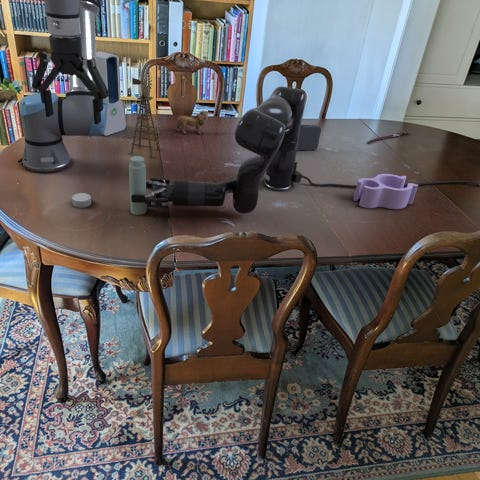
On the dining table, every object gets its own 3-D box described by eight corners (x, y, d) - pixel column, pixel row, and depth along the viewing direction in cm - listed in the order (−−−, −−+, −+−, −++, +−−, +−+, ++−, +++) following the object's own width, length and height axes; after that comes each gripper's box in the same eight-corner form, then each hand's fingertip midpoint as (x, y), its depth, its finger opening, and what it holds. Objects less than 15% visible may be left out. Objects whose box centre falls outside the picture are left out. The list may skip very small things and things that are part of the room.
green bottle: (142, 216, 137) (141, 163, 128) (128, 213, 137) (125, 160, 128) (149, 208, 140) (148, 157, 131) (134, 206, 141) (132, 154, 132)
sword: (405, 131, 223) (406, 129, 223) (410, 133, 221) (411, 131, 221) (362, 143, 208) (363, 140, 207) (367, 145, 206) (368, 143, 205)
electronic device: (104, 136, 184) (98, 57, 168) (90, 131, 187) (84, 53, 171) (126, 129, 193) (123, 53, 177) (113, 124, 196) (109, 49, 180)
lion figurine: (205, 129, 202) (206, 108, 197) (209, 133, 198) (210, 112, 193) (172, 130, 197) (172, 109, 192) (175, 135, 193) (175, 113, 188)
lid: (85, 197, 143) (85, 191, 142) (95, 204, 140) (94, 198, 139) (69, 202, 139) (68, 196, 138) (78, 209, 136) (77, 203, 135)
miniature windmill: (151, 157, 172) (150, 74, 155) (129, 154, 173) (126, 70, 156) (160, 149, 179) (159, 68, 163) (139, 145, 180) (137, 64, 164)
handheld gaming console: (315, 147, 196) (319, 124, 190) (317, 149, 194) (322, 126, 188) (264, 149, 189) (267, 125, 183) (266, 152, 187) (269, 127, 181)
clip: (366, 212, 151) (371, 193, 147) (347, 194, 161) (351, 176, 157) (417, 207, 158) (423, 188, 154) (395, 190, 167) (401, 172, 163)
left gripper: (8, 31, 112) (22, 116, 124) (107, 44, 110) (112, 130, 122) (25, 26, 119) (37, 108, 130) (119, 39, 117) (123, 121, 128)
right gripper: (189, 171, 141) (134, 169, 139) (189, 193, 129) (129, 191, 127) (188, 193, 145) (135, 191, 143) (188, 216, 133) (130, 214, 131)
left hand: (73, 119), depth 126 cm, fingers open, 13 cm apart
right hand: (132, 191), depth 135 cm, fingers open, 8 cm apart
